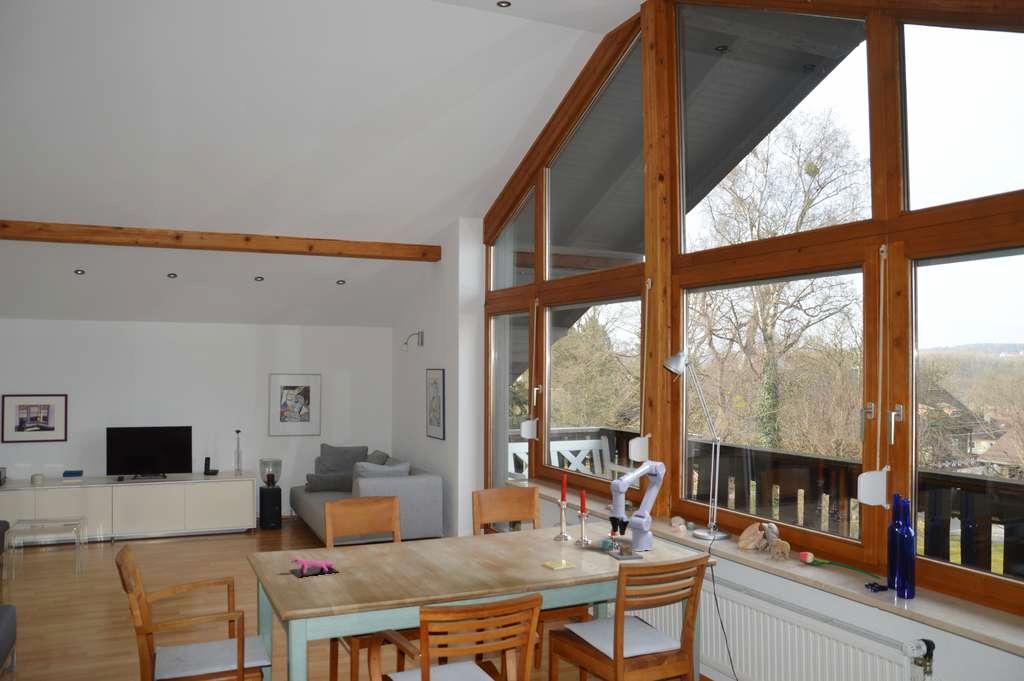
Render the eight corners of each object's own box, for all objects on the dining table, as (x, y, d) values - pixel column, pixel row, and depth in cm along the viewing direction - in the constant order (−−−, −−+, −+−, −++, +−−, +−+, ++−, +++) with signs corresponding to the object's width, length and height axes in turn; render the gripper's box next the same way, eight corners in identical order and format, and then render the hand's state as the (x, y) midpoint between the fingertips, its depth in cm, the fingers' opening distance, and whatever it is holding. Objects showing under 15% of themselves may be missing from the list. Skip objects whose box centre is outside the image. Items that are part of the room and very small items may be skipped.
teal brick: (610, 547, 409) (610, 539, 409) (614, 549, 405) (614, 541, 405) (602, 548, 408) (602, 539, 408) (605, 550, 403) (606, 541, 403)
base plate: (632, 553, 397) (632, 550, 397) (643, 558, 385) (643, 556, 385) (609, 554, 393) (609, 552, 393) (619, 560, 382) (619, 558, 382)
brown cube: (628, 553, 392) (628, 544, 392) (632, 555, 388) (632, 546, 388) (619, 553, 391) (619, 545, 391) (623, 555, 386) (623, 547, 386)
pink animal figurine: (286, 572, 358) (286, 555, 358) (331, 567, 368) (331, 550, 368) (295, 580, 345) (295, 562, 346) (341, 574, 355) (341, 557, 356)
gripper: (604, 503, 402) (604, 531, 402) (617, 508, 389) (617, 537, 388) (617, 502, 405) (617, 530, 404) (631, 507, 391) (631, 536, 390)
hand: (618, 533), depth 396 cm, fingers open, 7 cm apart
